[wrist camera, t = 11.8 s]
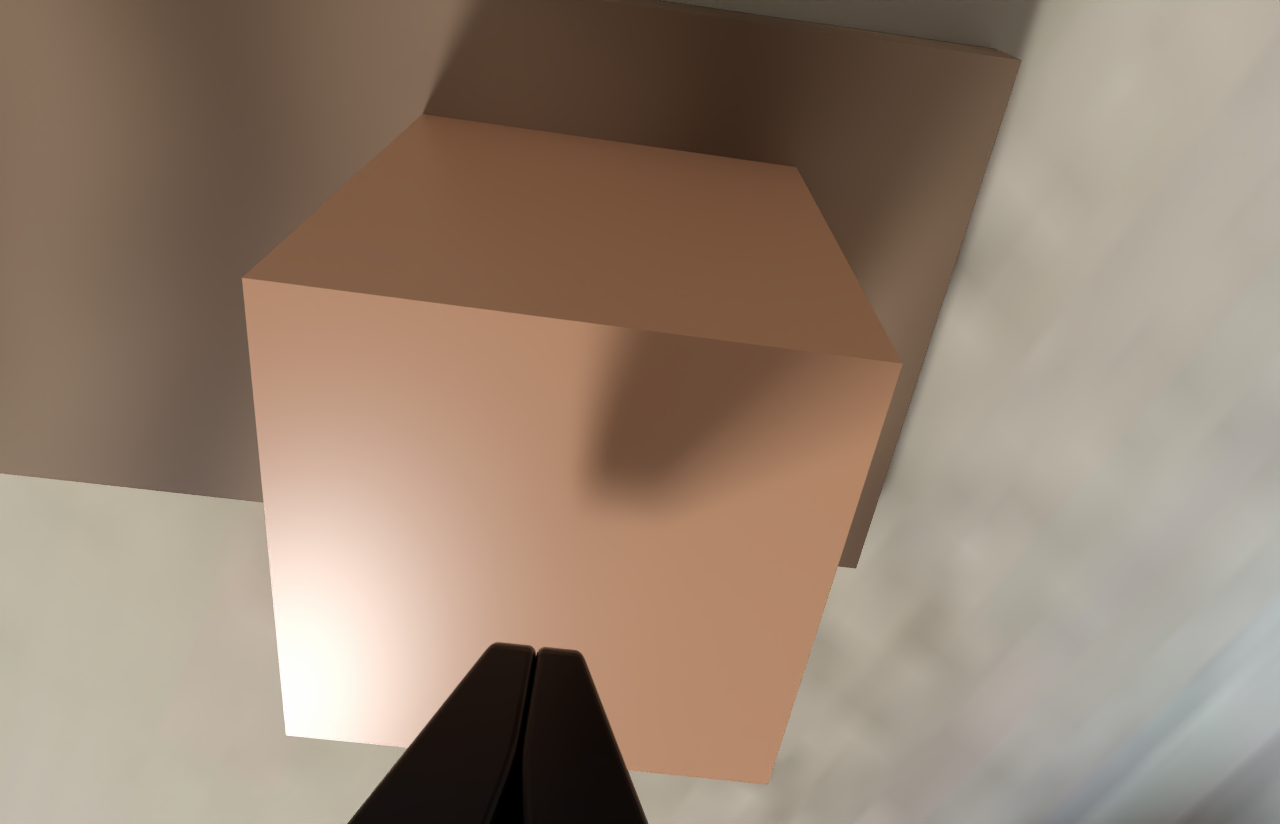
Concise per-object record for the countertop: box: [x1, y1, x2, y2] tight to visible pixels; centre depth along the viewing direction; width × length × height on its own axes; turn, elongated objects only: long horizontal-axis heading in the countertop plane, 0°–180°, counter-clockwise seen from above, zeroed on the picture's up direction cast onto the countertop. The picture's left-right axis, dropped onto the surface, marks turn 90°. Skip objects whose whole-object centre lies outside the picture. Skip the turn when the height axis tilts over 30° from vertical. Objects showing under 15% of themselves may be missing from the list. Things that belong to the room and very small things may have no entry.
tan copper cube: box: [242, 114, 903, 784], centre depth 12 cm, size 6×6×7 cm
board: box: [0, 0, 1021, 568], centre depth 16 cm, size 26×10×1 cm, turn 83°
